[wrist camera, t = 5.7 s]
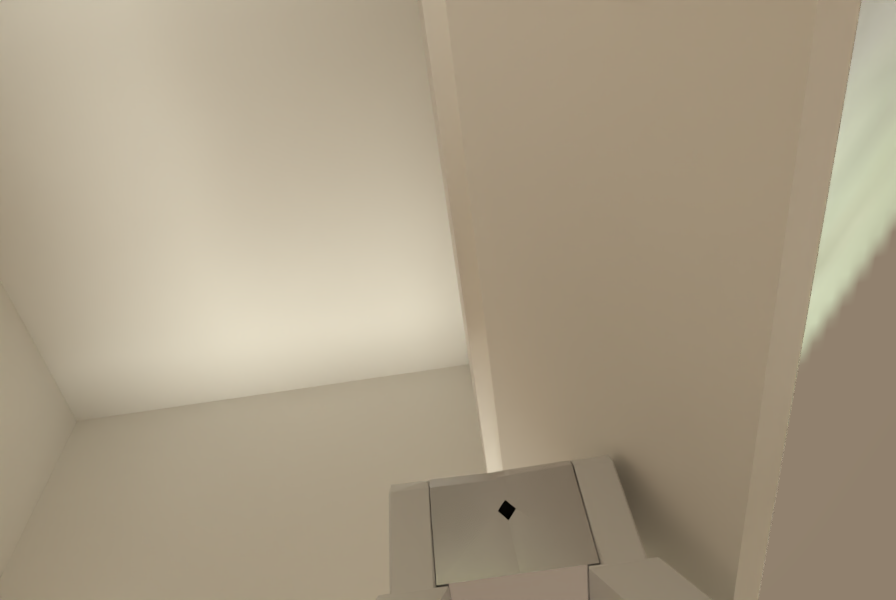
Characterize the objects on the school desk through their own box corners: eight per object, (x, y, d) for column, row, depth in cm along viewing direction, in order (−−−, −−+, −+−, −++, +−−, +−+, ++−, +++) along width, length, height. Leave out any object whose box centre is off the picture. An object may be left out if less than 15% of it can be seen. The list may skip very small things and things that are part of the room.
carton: (-250, -146, 16) (-810, -93, 8) (410, -248, 16) (437, -286, 8) (77, 441, 25) (-49, 710, 18) (489, 381, 25) (534, 627, 18)
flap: (425, -161, 8) (842, -176, 4) (457, -167, 9) (893, -186, 4) (521, 620, 17) (694, 879, 13) (536, 612, 17) (712, 865, 13)
